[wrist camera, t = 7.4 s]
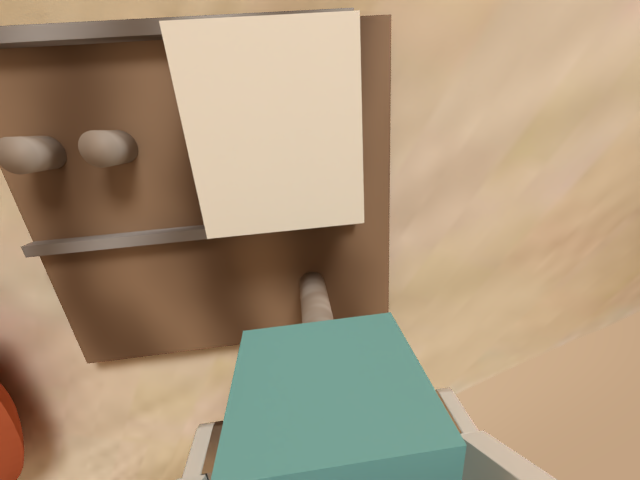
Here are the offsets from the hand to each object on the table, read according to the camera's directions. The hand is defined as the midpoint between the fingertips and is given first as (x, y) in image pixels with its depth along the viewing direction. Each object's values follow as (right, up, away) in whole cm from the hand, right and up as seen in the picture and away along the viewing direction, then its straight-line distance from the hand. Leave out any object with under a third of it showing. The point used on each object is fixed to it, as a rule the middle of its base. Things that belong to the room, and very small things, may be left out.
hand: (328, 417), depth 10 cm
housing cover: (-2, +11, +5) cm, 13 cm away
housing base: (-6, +8, +8) cm, 13 cm away
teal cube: (0, +1, +2) cm, 2 cm away
